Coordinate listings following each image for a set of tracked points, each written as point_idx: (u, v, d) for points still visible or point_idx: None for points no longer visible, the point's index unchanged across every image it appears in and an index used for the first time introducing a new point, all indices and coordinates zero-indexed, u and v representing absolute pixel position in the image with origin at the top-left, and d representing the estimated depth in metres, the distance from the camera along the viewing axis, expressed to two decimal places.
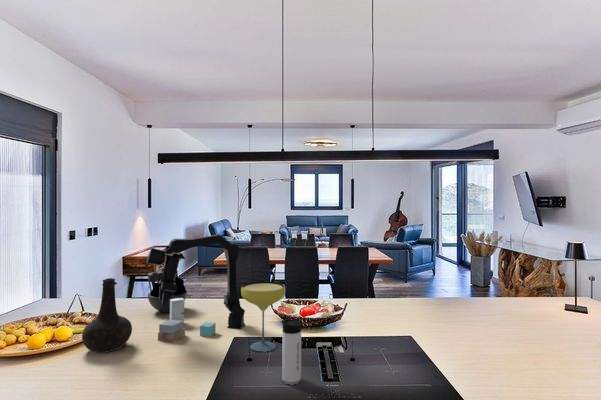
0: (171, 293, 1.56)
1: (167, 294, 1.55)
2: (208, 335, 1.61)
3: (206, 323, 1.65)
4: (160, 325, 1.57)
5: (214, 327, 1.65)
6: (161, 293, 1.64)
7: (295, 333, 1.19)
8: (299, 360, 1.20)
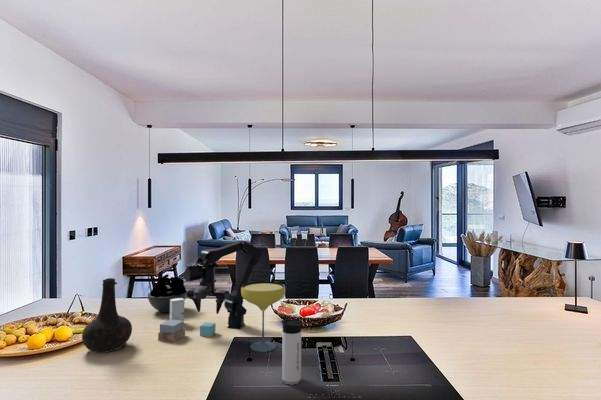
0: (222, 300, 1.64)
1: (220, 302, 1.63)
2: (208, 335, 1.61)
3: (206, 323, 1.65)
4: (161, 325, 1.57)
5: (214, 327, 1.65)
6: (198, 306, 1.65)
7: (295, 333, 1.19)
8: (299, 360, 1.20)
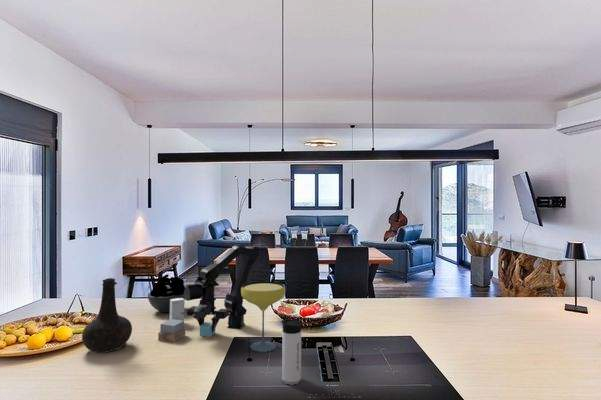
0: (218, 318, 1.65)
1: (215, 321, 1.63)
2: (208, 335, 1.61)
3: (206, 323, 1.65)
4: (161, 325, 1.58)
5: None
6: None
7: (295, 333, 1.19)
8: (299, 360, 1.20)
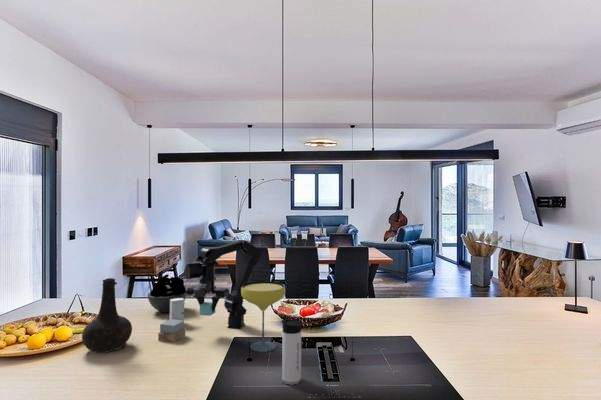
0: (218, 298, 1.65)
1: (215, 300, 1.63)
2: (208, 314, 1.61)
3: (206, 302, 1.65)
4: (161, 325, 1.57)
5: None
6: None
7: (295, 333, 1.19)
8: (299, 360, 1.20)
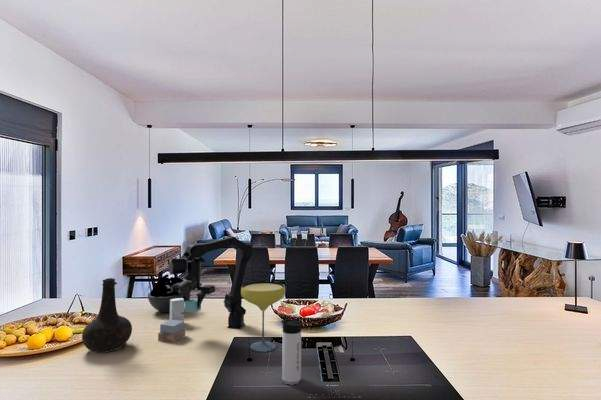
0: (204, 294, 1.63)
1: (201, 297, 1.62)
2: (193, 311, 1.59)
3: (191, 299, 1.63)
4: (161, 325, 1.57)
5: None
6: None
7: (295, 333, 1.19)
8: (299, 360, 1.20)
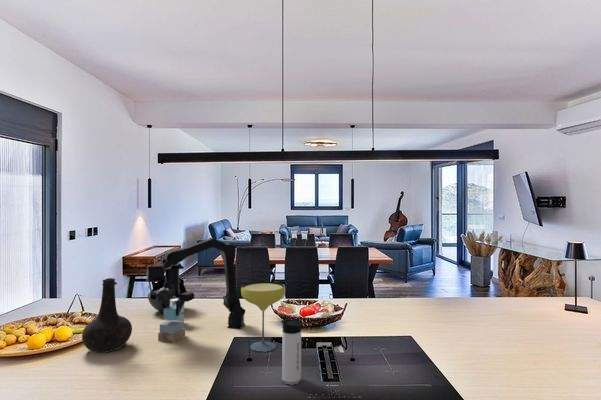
0: (183, 302, 1.60)
1: (180, 304, 1.59)
2: (172, 318, 1.57)
3: (171, 306, 1.61)
4: (160, 325, 1.57)
5: None
6: None
7: (295, 333, 1.19)
8: (299, 360, 1.20)
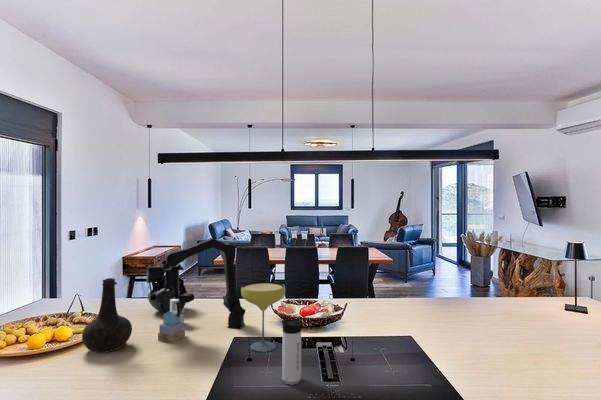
0: (184, 303, 1.60)
1: (181, 305, 1.59)
2: (171, 323, 1.57)
3: (171, 311, 1.61)
4: (160, 326, 1.57)
5: None
6: (165, 309, 1.60)
7: (295, 333, 1.19)
8: (299, 360, 1.20)
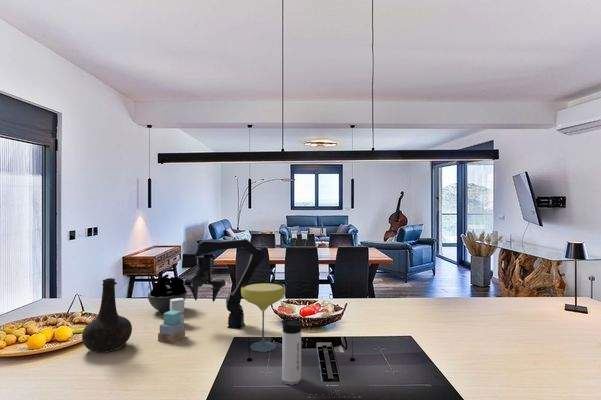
0: (218, 288, 1.71)
1: (216, 291, 1.70)
2: (171, 323, 1.57)
3: (171, 311, 1.61)
4: (160, 326, 1.56)
5: (178, 316, 1.60)
6: (195, 294, 1.72)
7: (295, 333, 1.19)
8: (299, 360, 1.20)
